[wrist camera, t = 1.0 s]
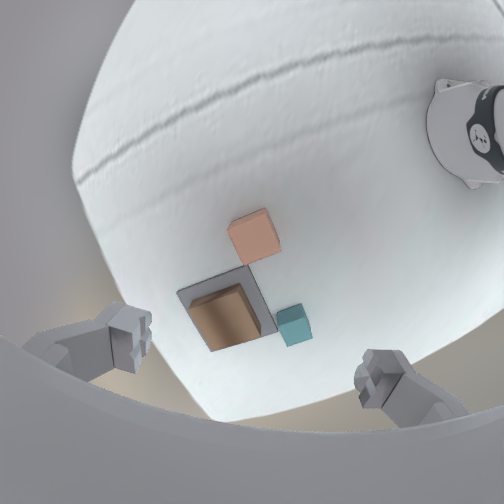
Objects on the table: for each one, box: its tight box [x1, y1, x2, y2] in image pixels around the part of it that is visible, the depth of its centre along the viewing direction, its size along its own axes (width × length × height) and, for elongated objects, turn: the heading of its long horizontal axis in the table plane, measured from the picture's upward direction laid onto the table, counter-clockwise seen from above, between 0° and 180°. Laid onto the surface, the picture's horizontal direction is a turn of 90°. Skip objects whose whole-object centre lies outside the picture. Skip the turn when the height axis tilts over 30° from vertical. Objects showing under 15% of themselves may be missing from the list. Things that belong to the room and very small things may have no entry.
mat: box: [176, 264, 278, 352], centre depth 42 cm, size 12×12×1 cm
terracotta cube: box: [227, 208, 281, 266], centre depth 36 cm, size 5×5×5 cm
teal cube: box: [277, 304, 313, 347], centre depth 40 cm, size 4×4×4 cm
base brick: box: [188, 283, 261, 351], centre depth 40 cm, size 8×8×3 cm
